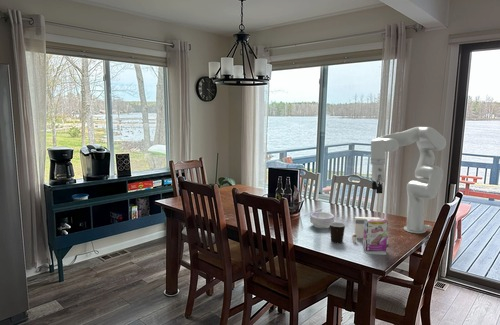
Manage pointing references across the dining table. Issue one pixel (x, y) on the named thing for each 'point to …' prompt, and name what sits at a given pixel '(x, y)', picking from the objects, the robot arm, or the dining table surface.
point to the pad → (376, 252)
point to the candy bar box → (375, 234)
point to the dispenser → (360, 228)
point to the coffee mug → (337, 232)
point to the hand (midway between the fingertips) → (377, 191)
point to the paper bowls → (321, 219)
